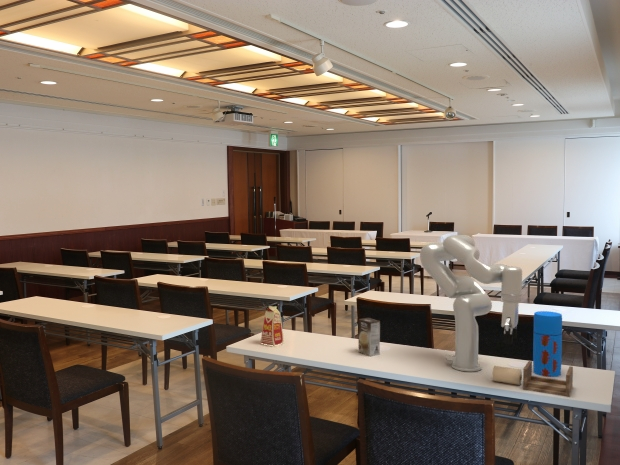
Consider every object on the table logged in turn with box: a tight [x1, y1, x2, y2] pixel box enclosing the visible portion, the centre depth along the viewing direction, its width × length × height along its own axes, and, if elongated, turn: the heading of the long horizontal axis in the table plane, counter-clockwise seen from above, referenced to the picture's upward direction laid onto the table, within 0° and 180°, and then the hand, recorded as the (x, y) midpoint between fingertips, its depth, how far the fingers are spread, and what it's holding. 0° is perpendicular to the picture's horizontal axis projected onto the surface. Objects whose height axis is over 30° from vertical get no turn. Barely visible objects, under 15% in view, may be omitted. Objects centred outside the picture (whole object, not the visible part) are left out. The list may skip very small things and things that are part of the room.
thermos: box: [532, 310, 563, 378], centre depth 230 cm, size 11×11×25 cm
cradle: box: [522, 360, 574, 398], centre depth 211 cm, size 16×12×8 cm
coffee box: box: [357, 317, 381, 357], centre depth 261 cm, size 9×6×16 cm
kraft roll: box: [492, 365, 523, 386], centre depth 219 cm, size 11×6×6 cm, turn 59°
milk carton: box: [260, 305, 284, 346], centre depth 280 cm, size 9×9×20 cm
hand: (510, 340), depth 218 cm, fingers open, 9 cm apart
